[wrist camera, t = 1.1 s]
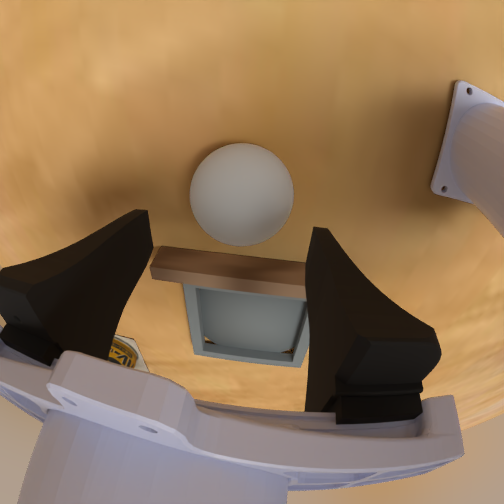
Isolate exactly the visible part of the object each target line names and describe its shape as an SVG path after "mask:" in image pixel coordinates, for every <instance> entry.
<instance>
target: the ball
mask: <svg viewBox="0 0 504 504" xmlns="http://www.w3.org/2000/svg"><path fill="white" fill-rule="evenodd" d="M293 200H294V188H293V183H292V179H291V176H290V174H289V172H288V170H287V168H286V167H285V165H284V164H283V162H282V161H281V160H280V159H279V158H278V157H277V156H276V155H275V154H273V153H272V152H270V151H269V150H267V149H265V148H263V147H260V146H257V145H254V144H248V143H236V144H230V145H226V146H224V147H221V148H219V149H217V150H215V151H213V152H212V153H211V154H209V155H208V156H207V157H206V158H205V159H204V160H203V161H202V162H201V163H200V165H199V166H198V168H197V169H196V171H195V173H194V175H193V178H192V181H191V186H190V204H191V208H192V212H193V214H194V216H195V219H196V220H197V222H198V224H199V225H200V226H201V228H202V229H203V230H204V231H205V232H206V233H207V234H208V235H210V236H211V237H212V238H214V239H216V240H218V241H219V242H222V243H224V244H228V245H232V246H251V245H255V244H259V243H261V242H264V241H266V240H267V239H269V238H271V237H272V236H274V235H275V234H276V233H277V232H278V231H279V230H280V229H281V228H282V227H283V225H284V224H285V223H286V221H287V219H288V217H289V215H290V213H291V210H292V206H293Z"/></svg>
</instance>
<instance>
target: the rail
mask: <svg viewBox="0 0 504 504" xmlns="http://www.w3.org/2000/svg"><path fill="white" fill-rule="evenodd" d="M305 264H306V263H302V262H293V261H284V260H275V259H267V258H258V257H249V256H241V255H232V254H223V253H215V252H206V251H198V250H189V249H181V248H172V247H164V246H161V248H160V249H159V251H158V253H157V254H156V256H155V258H154V260H153V262H152V263H151V265H150V271H151V275H152V279H156V280H162V281H169V282H176V283H183V284H190V285H197V286H204V287H211V288H219V289H226V290H234V291H242V292H250V293H259V294H267V295H276V296H285V297H295V298H304V299H306V291H305Z"/></svg>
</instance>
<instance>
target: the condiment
mask: <svg viewBox="0 0 504 504" xmlns="http://www.w3.org/2000/svg"><path fill="white" fill-rule="evenodd" d="M108 361H109V362H112V363H116V364H119V365H123V366H126V367H130V368H134V369H138V370H142V371H146V372H149V370H148V368H147V367H146V364H145V362H144V360H143V357H142V355H141V353H140V351H139V349H138V347H137V344H136V342H135V341H134V340H133V339H129V338H125V337H121V336H118V335H114V338H113V342H112V345H111V349H110V353H109V357H108Z"/></svg>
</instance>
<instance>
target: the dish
mask: <svg viewBox="0 0 504 504" xmlns="http://www.w3.org/2000/svg"><path fill="white" fill-rule="evenodd" d="M183 288H184V295H185V302H186V308H187V315H188V321H189V327H190V333H191V339H192V344H193V350H194V354H195V355H201V356H207V357H213V358H220V359H227V360H234V361H241V362H249V363H257V364H266V365H275V366H286V367H298V368H300V367H301V365H302V362H303V360H304V357H305V354H306V352H307V349H308V346H309V338H310V336H309V321H308V310H307V301H306V299H304V298H295V297H285V296H276V295H267V294H259V293H250V292H242V291H234V290H226V289H219V288H211V287H204V286H197V285H190V284H183ZM199 288H200V289H199ZM204 336H205V337H207V338H208V339H209V340H211V341H212V342H214V343H215V344H217V345H215V344H209V343H205V338H204ZM294 347H295V348H294ZM291 348H294V351H293V354H288V353H280V352H284V351H287V350H289V349H291Z"/></svg>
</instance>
